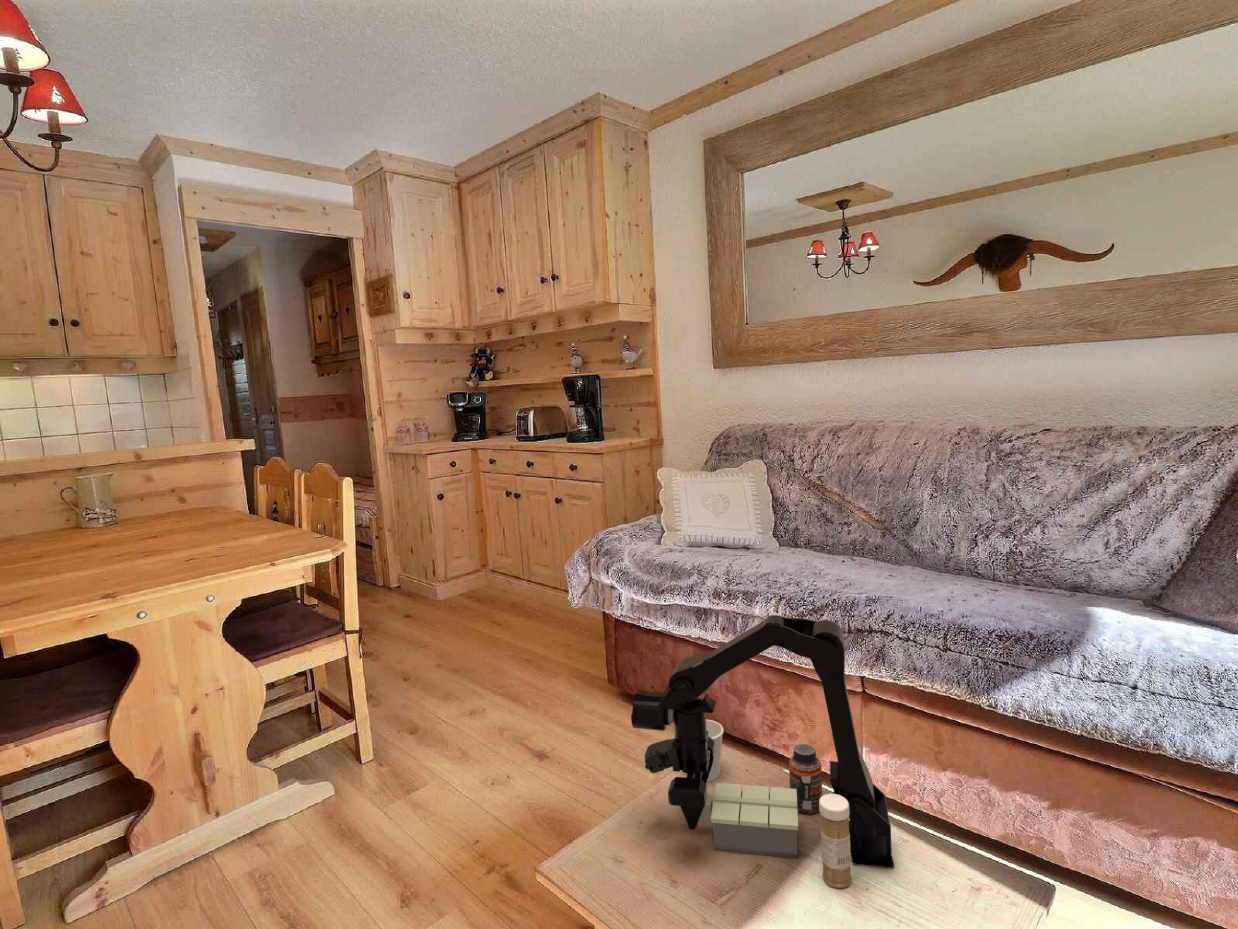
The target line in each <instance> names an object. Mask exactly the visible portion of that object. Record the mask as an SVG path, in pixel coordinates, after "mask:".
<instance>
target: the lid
mask: <svg viewBox="0 0 1238 929" xmlns="http://www.w3.org/2000/svg"><path fill="white" fill-rule="evenodd" d="M714 789H715V790H714V795H712V794H708V793H707V798H706V804H705V806H704V808H703V811H702V813H701V816H700V818H699V820H702V821H710V823H711V824H713V823H721V824H732V825H739V814H740V825H743V826H754V827H765V828H768V811H769V806H770V817H769V827H770V828H776V829H787V830H797V831H799V816H798V812H799V811H797V789H791V788H790V787H788V788H787V787H776V786H775V787H774V786H763V785H762V786H761V785H749V784H748V785H747V784H743V785H742V784H738V783H737V784H735V783H724V782H722V783H721V782H716V783H715V788H714ZM741 793H742V797H741ZM769 793H770V800H769ZM740 804H741V812H740ZM682 818H683V819H685V817H684V814H683V813H682Z"/></svg>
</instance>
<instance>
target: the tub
mask: <svg viewBox="0 0 1238 929" xmlns="http://www.w3.org/2000/svg"><path fill="white" fill-rule="evenodd" d="M741 797H742V793H741ZM769 800H770V792H769ZM740 812H741V804H740ZM769 817H770V806H769V811H768V828H765V827H754V826H743V825H740V814H739V825H732V824H721V823H712V828H713V830H712V831H713V844H714V845H713V846H714V848H713V849H714V851H718V852H719V851H720V852H729V853H739V854H748V855H758V856H766V857H767V856H768V857H778V858H779V857H780V858H789V859H798V856H799V855H798V833H797V832H798V830H787V829H776V828H770V827H769Z"/></svg>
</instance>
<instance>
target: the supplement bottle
mask: <svg viewBox="0 0 1238 929" xmlns="http://www.w3.org/2000/svg"><path fill="white" fill-rule="evenodd" d="M816 753H817V752H816V749H815V747H814V746H813V745H810V744H806V743H800V744H799V743H798V744H796V745H794V747H793V755H792V756H791V757H790V758H789V761H788V769H789V770H788V771H789V772H788V773H789V775H788V776H789V788H791V789H797V812H799V813H803V814H806V815H807V814H810V815H811V814H815V813H818V812H820V811H819V800H820V798H821V797H822V796H823V781H822V780H823V777H822V776H823V775H822V763H821V761H820V759H819V758H818V757H817V754H816Z"/></svg>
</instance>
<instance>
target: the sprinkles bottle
mask: <svg viewBox="0 0 1238 929" xmlns="http://www.w3.org/2000/svg"><path fill="white" fill-rule="evenodd" d="M818 812H819V814H820V838H821V841H820V842H821V859H822V879H823V880H824V882H825V883H826V884H827V885H828V886H830V887H832V888H835V889H845V888H847V887H849V886H851V884H852V880H853V878H852V872H851V869H852V868H851V864H852V858H851V853H850V833H849V814H850V813H849V803H848V801H847V800H846V799H845V798H844V797H842V796H840V795H837V794H834V793H826V794H822V797H821V798H820V800H819V811H818Z"/></svg>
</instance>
